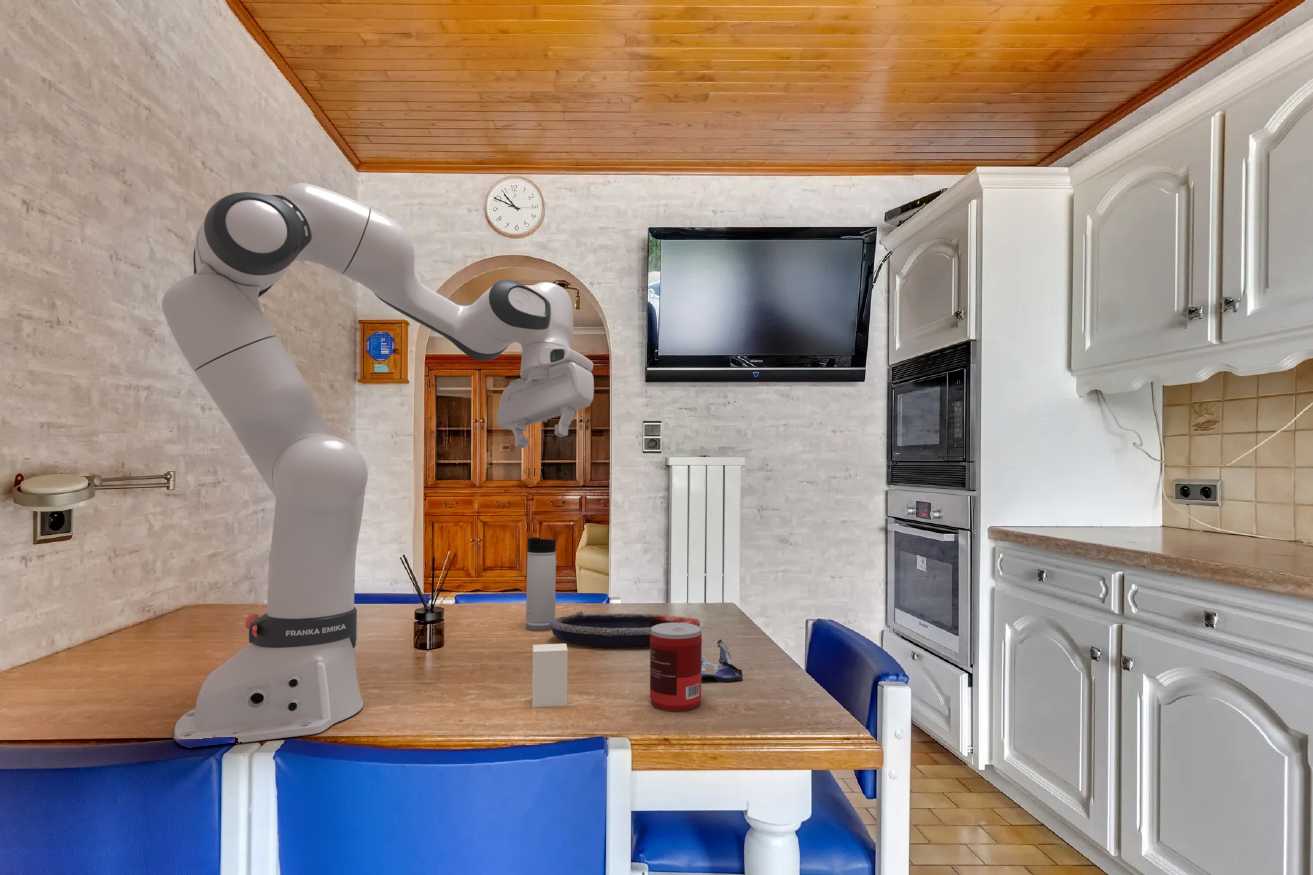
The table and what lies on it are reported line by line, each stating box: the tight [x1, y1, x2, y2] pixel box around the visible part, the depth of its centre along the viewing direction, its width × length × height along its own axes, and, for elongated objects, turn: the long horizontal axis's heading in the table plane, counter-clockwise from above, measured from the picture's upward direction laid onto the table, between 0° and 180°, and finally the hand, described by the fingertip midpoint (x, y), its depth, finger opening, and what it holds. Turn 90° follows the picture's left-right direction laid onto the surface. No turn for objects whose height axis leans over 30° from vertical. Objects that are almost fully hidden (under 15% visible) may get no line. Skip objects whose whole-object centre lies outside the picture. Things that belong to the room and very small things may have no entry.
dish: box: [549, 611, 701, 649], centre depth 137 cm, size 16×31×5 cm, turn 88°
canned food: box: [649, 623, 703, 712], centre depth 100 cm, size 8×8×11 cm
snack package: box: [701, 639, 744, 683], centre depth 115 cm, size 12×6×12 cm
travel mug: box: [525, 536, 557, 632], centre depth 148 cm, size 6×7×20 cm
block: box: [531, 643, 569, 708], centre depth 100 cm, size 4×5×8 cm
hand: (540, 441), depth 114 cm, fingers open, 8 cm apart
